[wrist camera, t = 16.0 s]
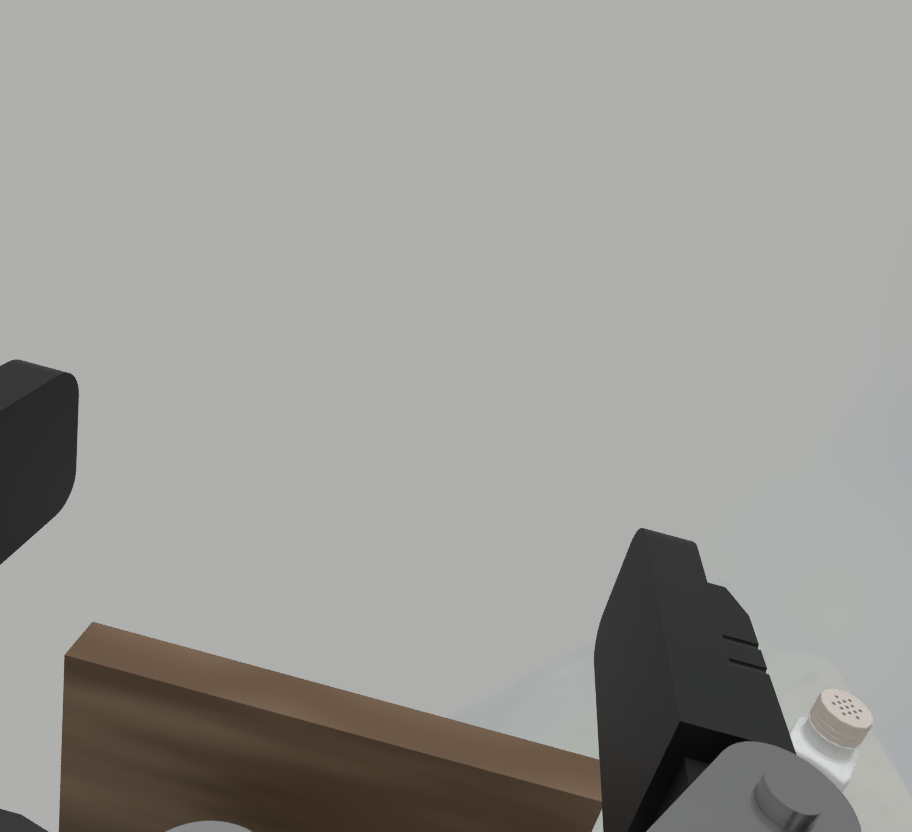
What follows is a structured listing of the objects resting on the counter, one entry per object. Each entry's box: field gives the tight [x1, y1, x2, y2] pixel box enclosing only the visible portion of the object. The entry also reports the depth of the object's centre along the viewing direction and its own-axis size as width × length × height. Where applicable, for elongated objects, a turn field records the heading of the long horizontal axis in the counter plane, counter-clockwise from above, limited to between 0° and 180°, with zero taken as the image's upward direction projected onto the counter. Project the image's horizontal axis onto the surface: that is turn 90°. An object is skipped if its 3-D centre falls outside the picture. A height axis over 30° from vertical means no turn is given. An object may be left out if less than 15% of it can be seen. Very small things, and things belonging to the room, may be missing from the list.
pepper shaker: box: [789, 688, 873, 792], centre depth 51 cm, size 4×4×10 cm
